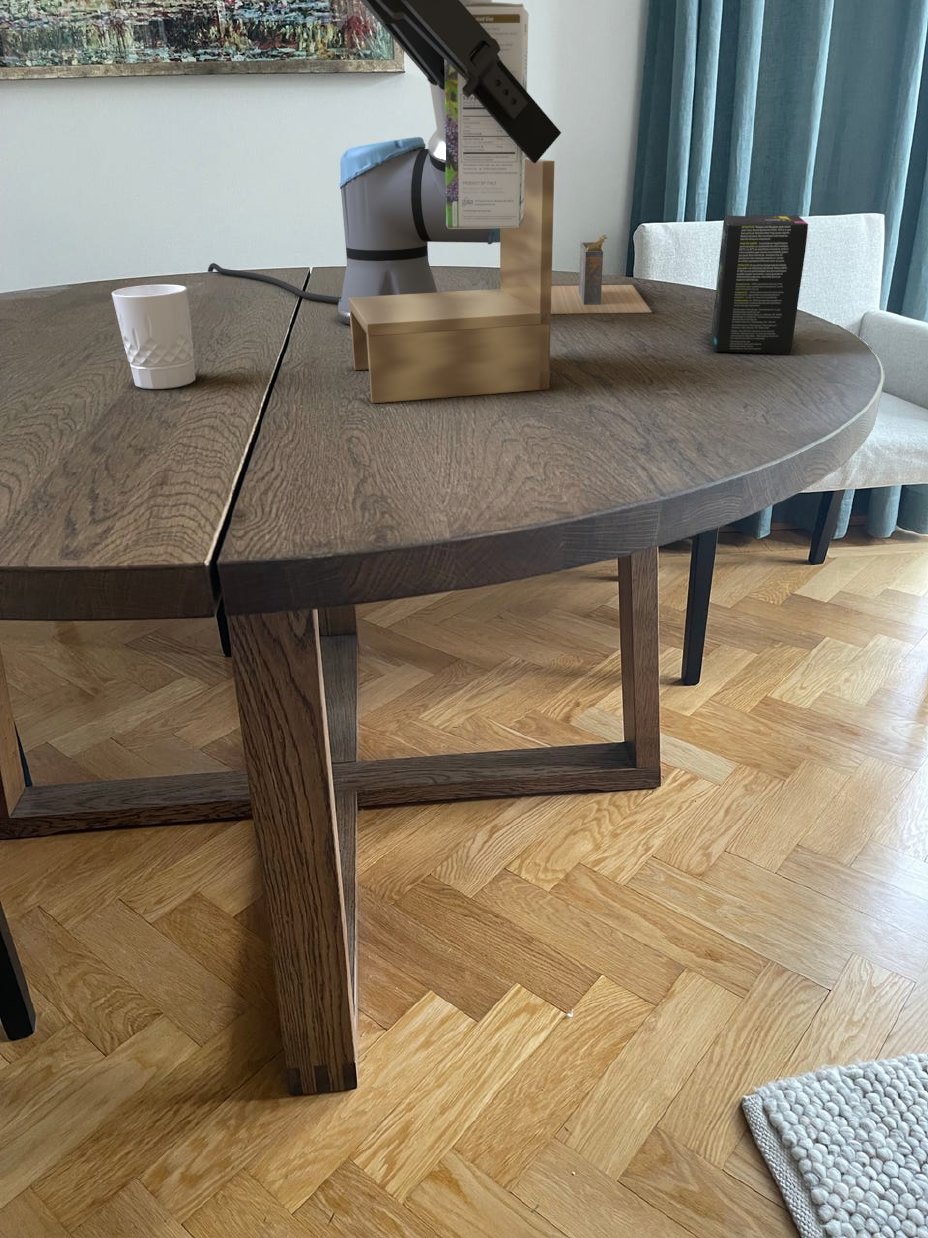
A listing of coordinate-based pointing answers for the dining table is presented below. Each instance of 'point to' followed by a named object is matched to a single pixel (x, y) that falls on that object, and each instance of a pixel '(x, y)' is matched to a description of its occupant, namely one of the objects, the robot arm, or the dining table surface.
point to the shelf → (468, 320)
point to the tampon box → (758, 283)
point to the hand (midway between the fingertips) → (531, 145)
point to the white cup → (156, 334)
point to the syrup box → (485, 134)
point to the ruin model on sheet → (595, 289)
